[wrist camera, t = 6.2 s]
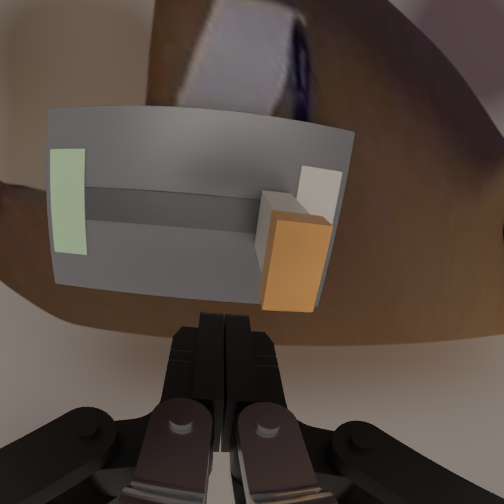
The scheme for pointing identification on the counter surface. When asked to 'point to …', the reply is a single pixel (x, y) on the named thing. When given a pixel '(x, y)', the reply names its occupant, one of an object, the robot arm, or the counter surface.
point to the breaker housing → (180, 195)
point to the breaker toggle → (289, 252)
